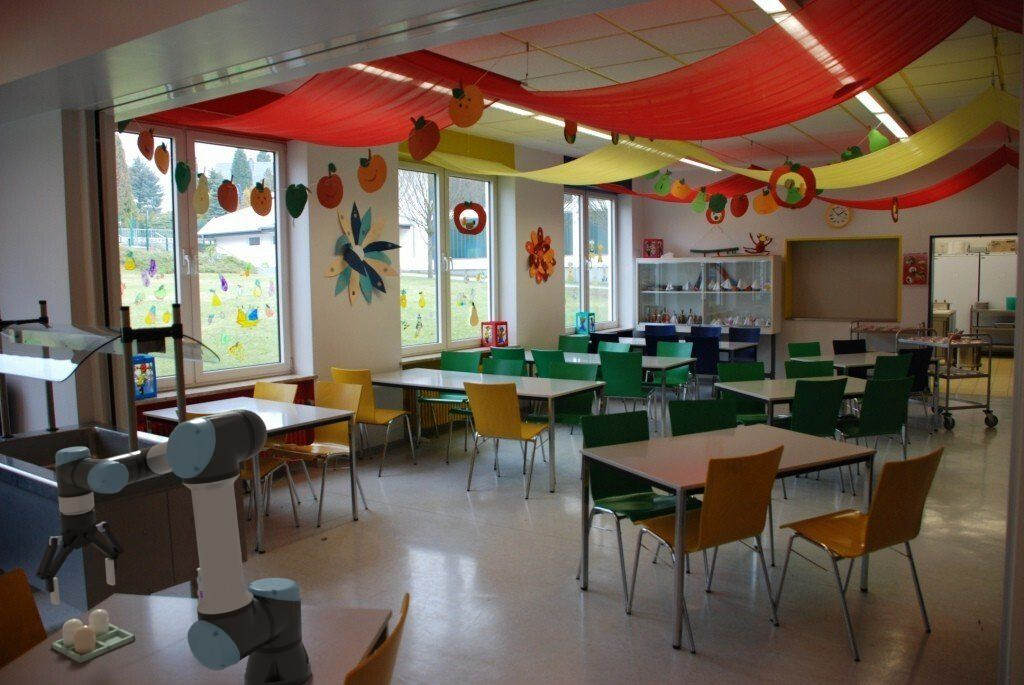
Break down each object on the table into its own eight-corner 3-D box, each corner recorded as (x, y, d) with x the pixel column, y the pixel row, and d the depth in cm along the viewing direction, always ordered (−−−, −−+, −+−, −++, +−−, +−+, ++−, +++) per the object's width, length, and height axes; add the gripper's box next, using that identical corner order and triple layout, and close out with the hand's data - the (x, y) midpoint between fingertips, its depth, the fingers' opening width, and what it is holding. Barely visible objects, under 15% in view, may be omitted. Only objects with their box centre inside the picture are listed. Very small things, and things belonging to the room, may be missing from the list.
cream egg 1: (87, 644, 199) (86, 618, 198) (69, 651, 195) (67, 625, 195) (78, 639, 202) (76, 613, 201) (60, 646, 198) (58, 620, 197)
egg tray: (135, 641, 201) (134, 635, 201) (80, 665, 190) (79, 658, 190) (106, 627, 209) (105, 621, 209) (51, 649, 198) (51, 642, 197)
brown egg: (99, 651, 195) (98, 624, 195) (81, 658, 192) (79, 632, 191) (89, 646, 198) (88, 620, 197) (71, 653, 194) (69, 627, 193)
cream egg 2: (113, 633, 205) (111, 608, 204) (95, 640, 201) (93, 615, 200) (103, 629, 207) (102, 604, 206) (86, 636, 203) (84, 610, 203)
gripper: (118, 495, 203) (124, 573, 205) (14, 522, 183) (22, 609, 185) (134, 499, 199) (140, 579, 201) (30, 527, 179) (38, 616, 181)
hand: (84, 593), depth 193 cm, fingers open, 13 cm apart
